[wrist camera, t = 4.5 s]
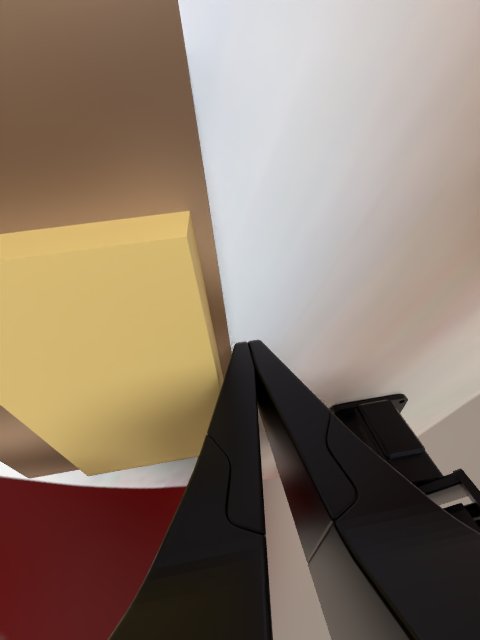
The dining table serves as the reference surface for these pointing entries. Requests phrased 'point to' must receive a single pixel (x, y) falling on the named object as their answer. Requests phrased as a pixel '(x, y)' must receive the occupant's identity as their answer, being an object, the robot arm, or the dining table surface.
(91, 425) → the yellow flat block
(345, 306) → the dining table surface
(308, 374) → the dining table surface
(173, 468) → the dining table surface
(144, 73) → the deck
